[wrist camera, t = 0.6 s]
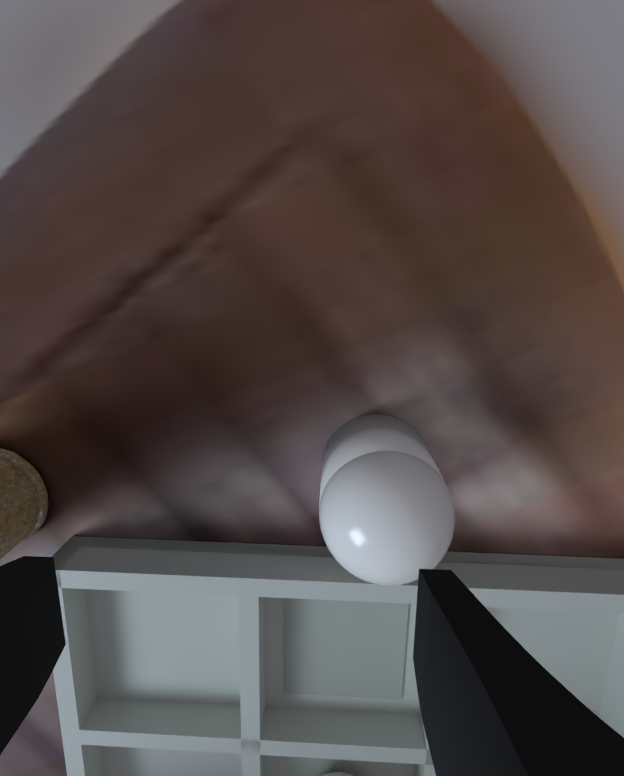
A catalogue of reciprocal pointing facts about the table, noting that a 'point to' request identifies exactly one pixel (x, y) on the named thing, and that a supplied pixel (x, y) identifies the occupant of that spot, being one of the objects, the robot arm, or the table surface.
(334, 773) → the cream egg middle
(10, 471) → the sprinkles bottle
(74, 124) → the table surface
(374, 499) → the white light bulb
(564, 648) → the egg tray
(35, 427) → the table surface
